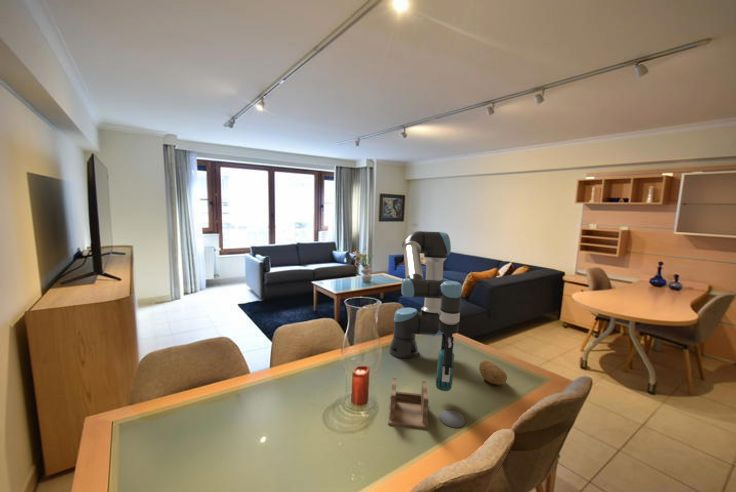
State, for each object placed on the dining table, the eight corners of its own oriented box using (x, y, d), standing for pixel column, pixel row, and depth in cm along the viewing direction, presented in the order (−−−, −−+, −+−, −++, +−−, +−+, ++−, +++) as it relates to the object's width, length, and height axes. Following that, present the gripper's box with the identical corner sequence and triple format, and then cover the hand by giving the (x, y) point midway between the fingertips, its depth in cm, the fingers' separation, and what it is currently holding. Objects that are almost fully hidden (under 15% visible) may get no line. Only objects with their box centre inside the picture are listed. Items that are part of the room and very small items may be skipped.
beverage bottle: (433, 391, 127) (436, 344, 124) (437, 383, 133) (441, 338, 130) (449, 397, 124) (453, 348, 121) (453, 388, 130) (457, 342, 127)
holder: (390, 398, 129) (391, 375, 127) (425, 401, 127) (427, 378, 126) (388, 424, 113) (389, 398, 112) (428, 429, 111) (430, 403, 110)
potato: (494, 392, 136) (496, 374, 135) (473, 375, 149) (474, 359, 148) (512, 388, 140) (514, 371, 139) (489, 372, 153) (491, 356, 152)
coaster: (438, 410, 122) (438, 409, 122) (462, 412, 121) (462, 411, 121) (440, 426, 113) (440, 424, 113) (466, 429, 112) (466, 427, 112)
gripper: (436, 311, 134) (432, 363, 137) (441, 330, 115) (437, 389, 118) (455, 313, 133) (450, 365, 137) (463, 331, 114) (457, 391, 118)
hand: (444, 376), depth 128 cm, fingers closed on beverage bottle, 6 cm apart
